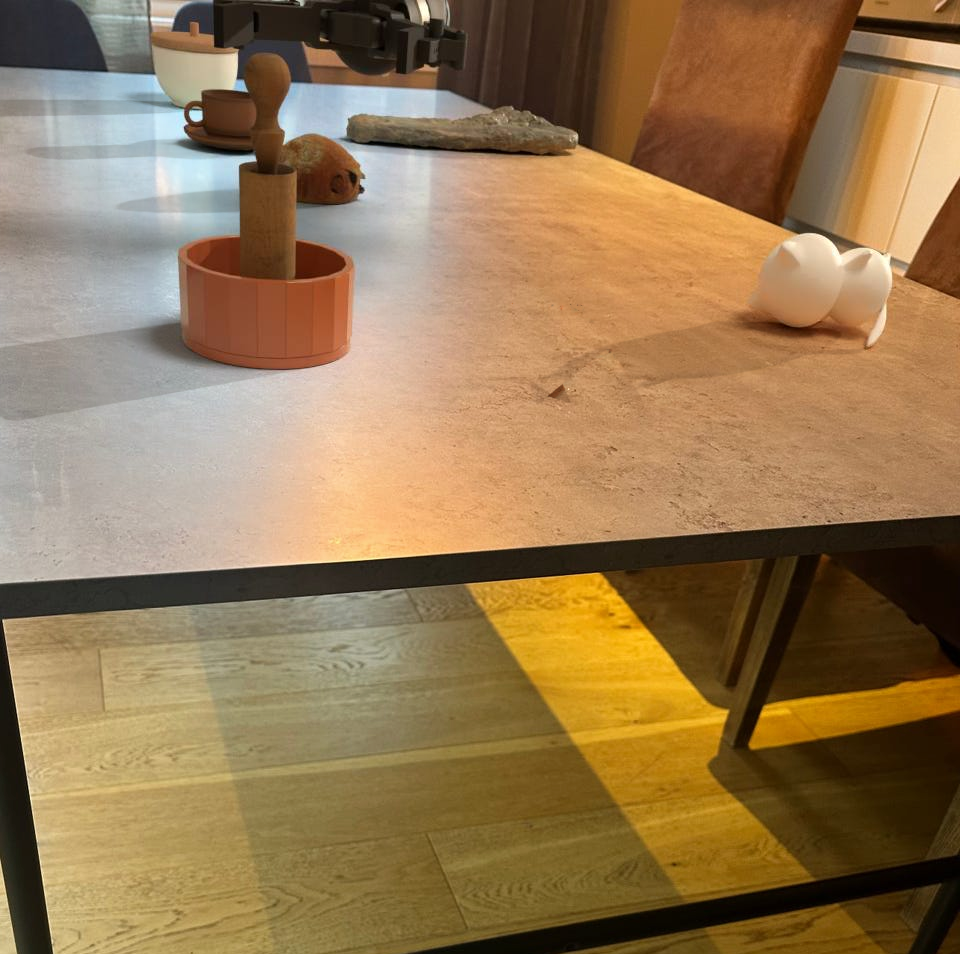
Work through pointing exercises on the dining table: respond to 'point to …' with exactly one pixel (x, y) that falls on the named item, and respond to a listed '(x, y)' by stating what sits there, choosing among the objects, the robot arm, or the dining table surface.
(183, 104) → the lidded bowl
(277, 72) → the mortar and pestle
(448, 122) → the long grey stone
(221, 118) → the cup and saucer
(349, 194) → the bread roll
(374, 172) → the dining table surface
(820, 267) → the cat figurine
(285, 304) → the crock
